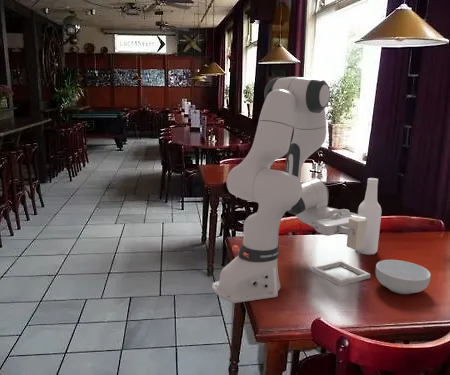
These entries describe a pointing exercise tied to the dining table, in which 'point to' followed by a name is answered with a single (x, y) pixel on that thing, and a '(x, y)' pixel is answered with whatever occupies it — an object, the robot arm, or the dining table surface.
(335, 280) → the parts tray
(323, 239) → the dining table surface
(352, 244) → the stone block
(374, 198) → the alcohol
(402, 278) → the cereal bowl
